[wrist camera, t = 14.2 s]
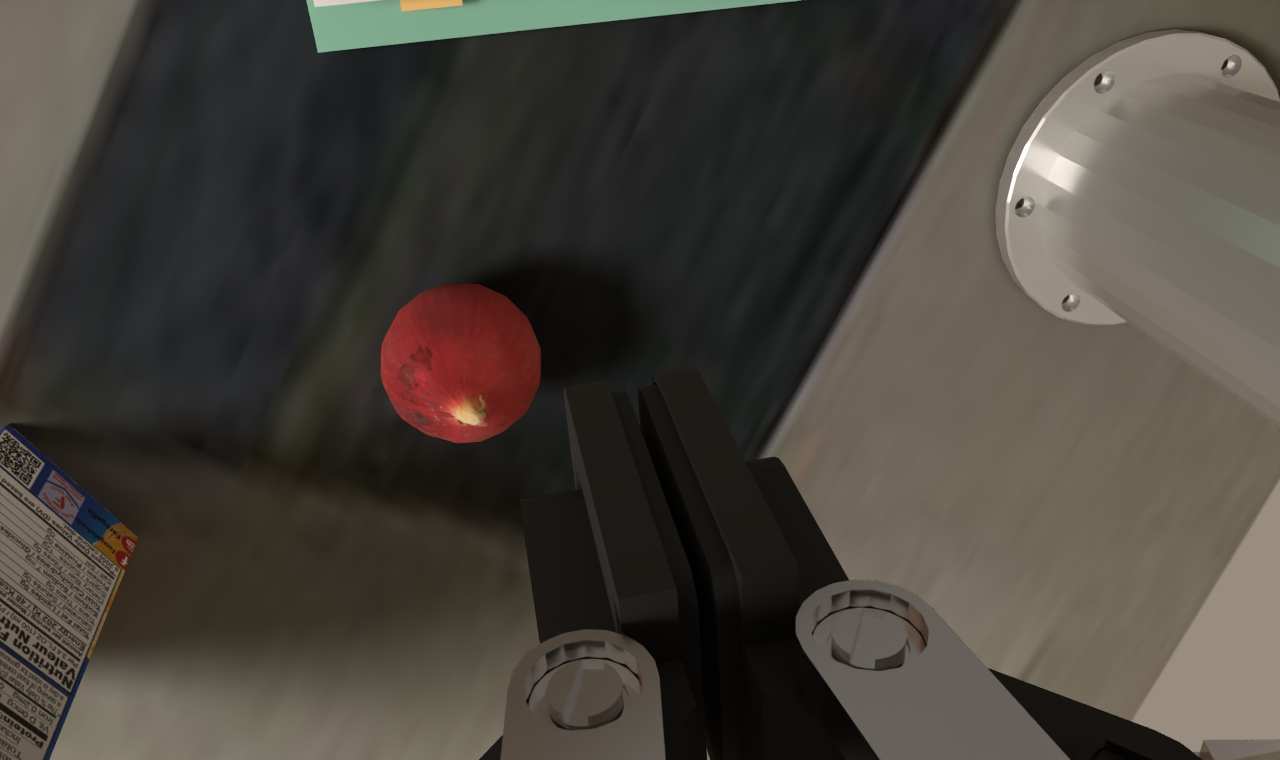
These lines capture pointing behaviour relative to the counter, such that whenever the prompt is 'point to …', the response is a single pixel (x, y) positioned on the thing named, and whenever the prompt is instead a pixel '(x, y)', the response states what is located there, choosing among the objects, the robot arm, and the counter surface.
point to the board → (476, 17)
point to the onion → (461, 363)
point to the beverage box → (49, 592)
